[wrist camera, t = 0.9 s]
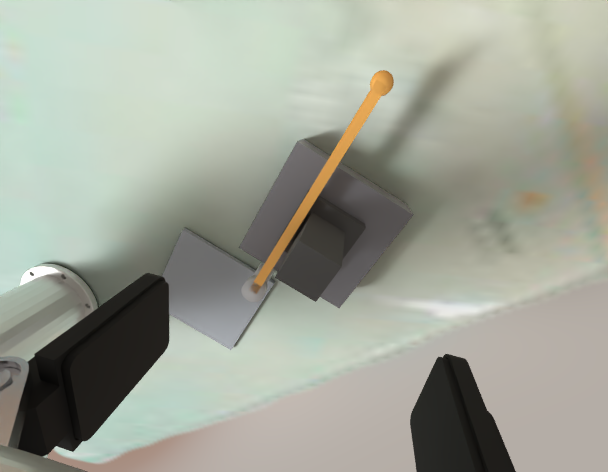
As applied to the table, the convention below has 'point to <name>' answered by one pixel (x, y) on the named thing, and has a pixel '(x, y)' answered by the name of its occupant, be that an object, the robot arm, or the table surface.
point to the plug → (318, 248)
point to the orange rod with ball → (318, 185)
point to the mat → (209, 289)
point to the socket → (341, 192)
